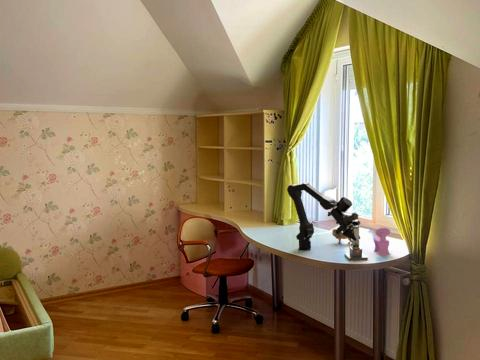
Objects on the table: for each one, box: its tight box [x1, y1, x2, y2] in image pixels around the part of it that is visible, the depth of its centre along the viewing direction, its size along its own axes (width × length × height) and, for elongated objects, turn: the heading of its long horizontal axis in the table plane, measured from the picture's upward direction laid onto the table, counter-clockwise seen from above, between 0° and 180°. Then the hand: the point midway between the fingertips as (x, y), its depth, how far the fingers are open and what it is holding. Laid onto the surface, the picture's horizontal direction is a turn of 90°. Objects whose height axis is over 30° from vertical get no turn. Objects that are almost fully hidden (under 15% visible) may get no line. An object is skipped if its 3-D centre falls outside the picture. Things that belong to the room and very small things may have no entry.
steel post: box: [351, 225, 360, 249], centre depth 251 cm, size 4×4×12 cm
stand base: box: [343, 246, 369, 262], centre depth 252 cm, size 10×10×6 cm
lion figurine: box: [331, 228, 352, 246], centre depth 285 cm, size 15×5×9 cm, turn 69°
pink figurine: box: [373, 227, 391, 256], centre depth 260 cm, size 8×9×15 cm
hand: (357, 239), depth 250 cm, fingers closed on steel post, 4 cm apart
